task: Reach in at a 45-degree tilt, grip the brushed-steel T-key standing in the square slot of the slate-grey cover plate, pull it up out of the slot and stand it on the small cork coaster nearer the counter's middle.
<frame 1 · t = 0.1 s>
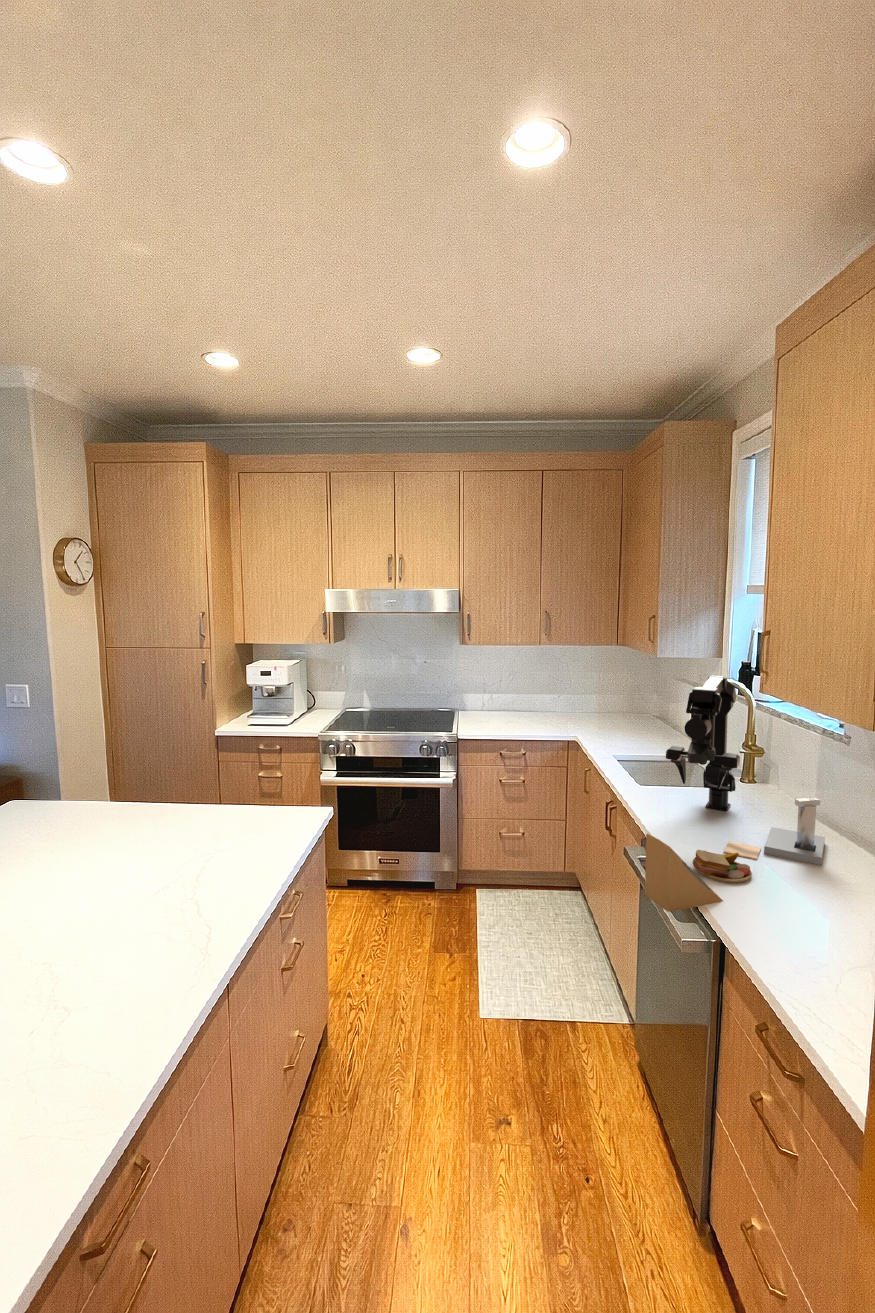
hand: (701, 786, 173), 15 cm above the countertop, tool pointing down, fingers open, 9 cm apart
cover plate: (794, 848, 166), on the countertop
sandwich container: (684, 899, 140), on the countertop
coaster: (742, 851, 164), on the countertop
toy sandwich meal: (721, 874, 152), on the countertop
t key: (804, 854, 162), resting in cover plate
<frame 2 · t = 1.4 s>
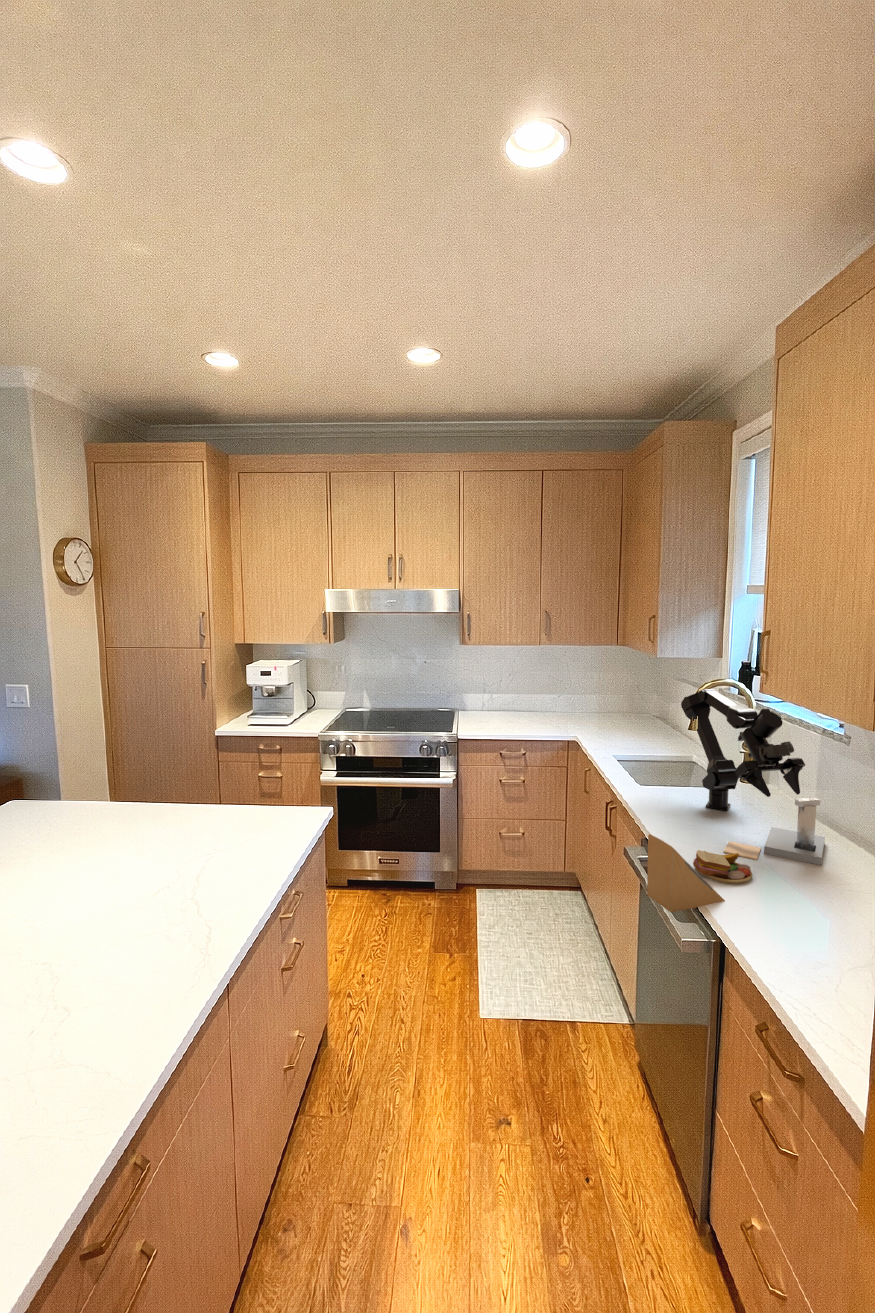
hand: (784, 795, 169), 13 cm above the countertop, tool tilted 45°, fingers open, 9 cm apart
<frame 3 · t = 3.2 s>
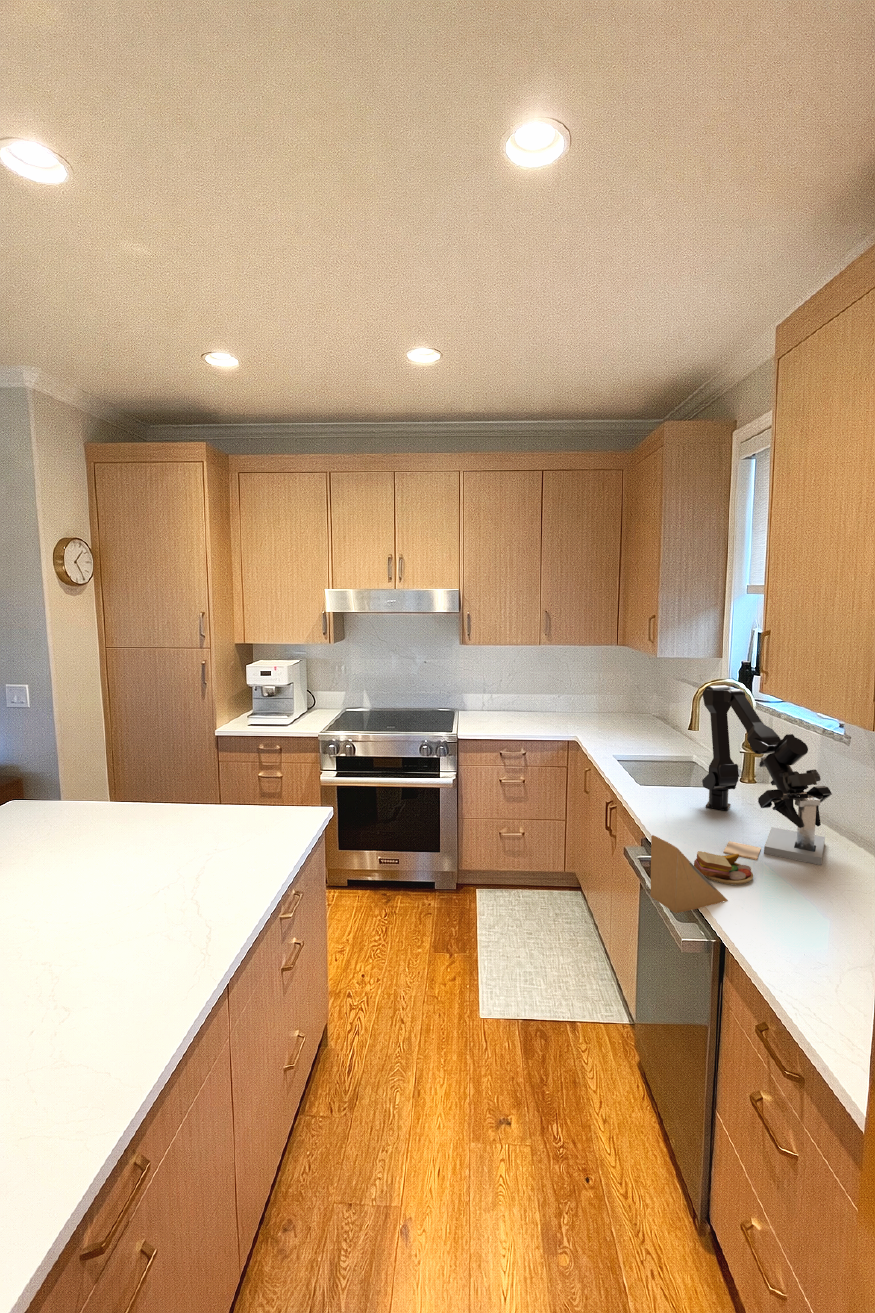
hand: (810, 826, 160), 8 cm above the countertop, tool tilted 45°, fingers closed on t key, 5 cm apart
t key: (804, 854, 162), resting in cover plate, touching gripper
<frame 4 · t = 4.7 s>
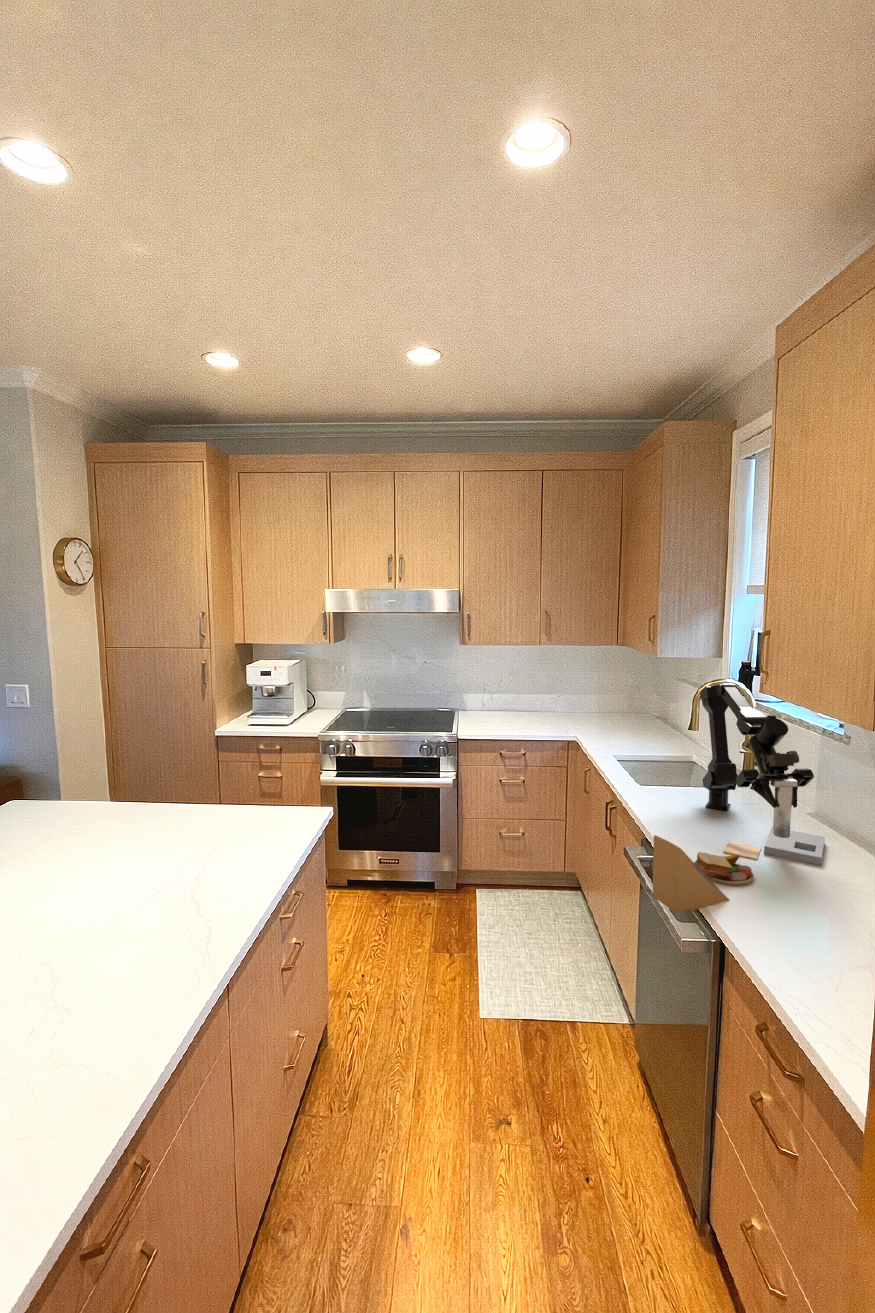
hand: (785, 807, 160), 13 cm above the countertop, tool tilted 45°, fingers closed on t key, 5 cm apart
t key: (781, 834, 162), point 5 cm above the countertop, touching gripper
when the fingers open (9 cm above the countertop, at t = 6.4 s): t key stays where it is, resting on coaster.
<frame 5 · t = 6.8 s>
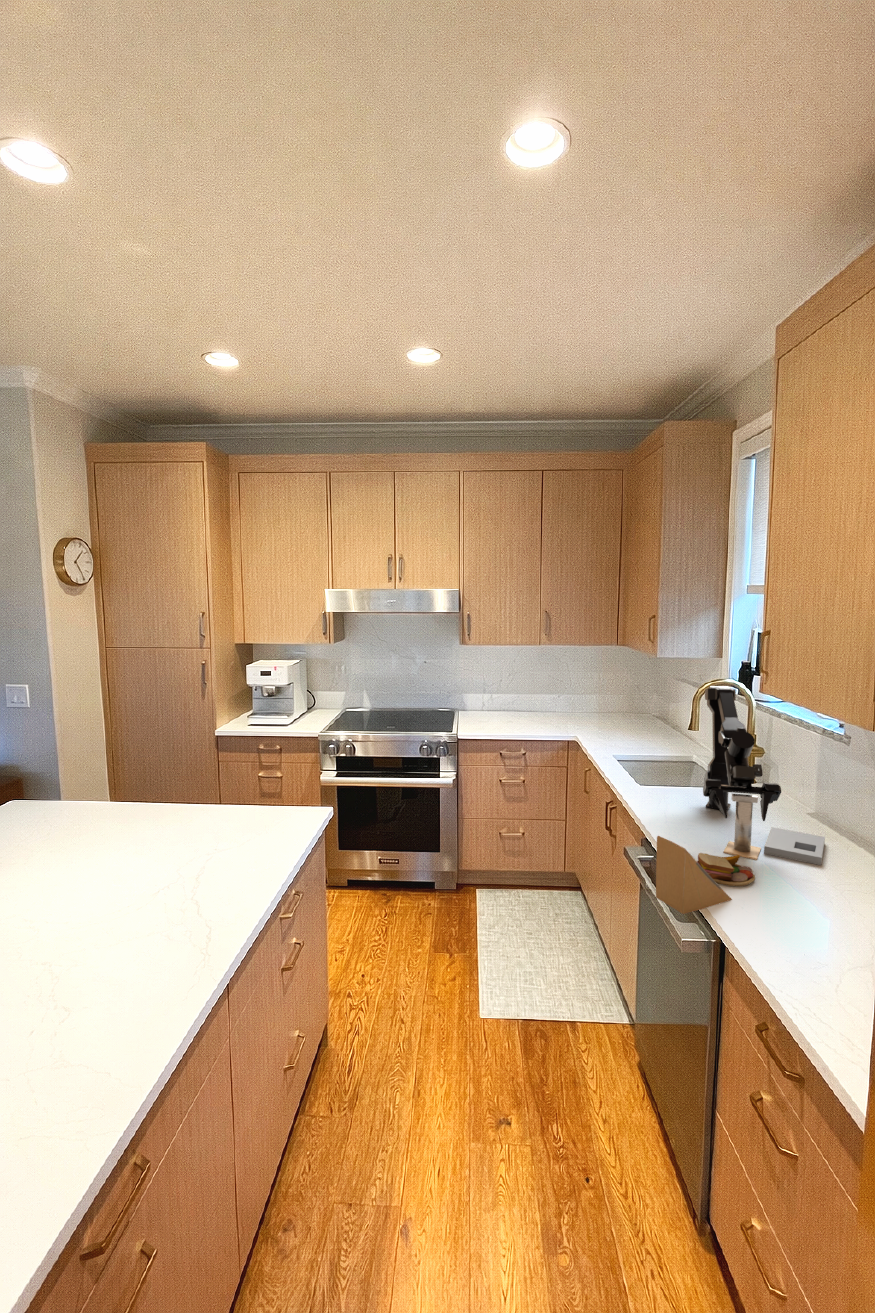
hand: (745, 819, 162), 9 cm above the countertop, tool tilted 45°, fingers open, 9 cm apart
t key: (742, 849, 165), resting on coaster
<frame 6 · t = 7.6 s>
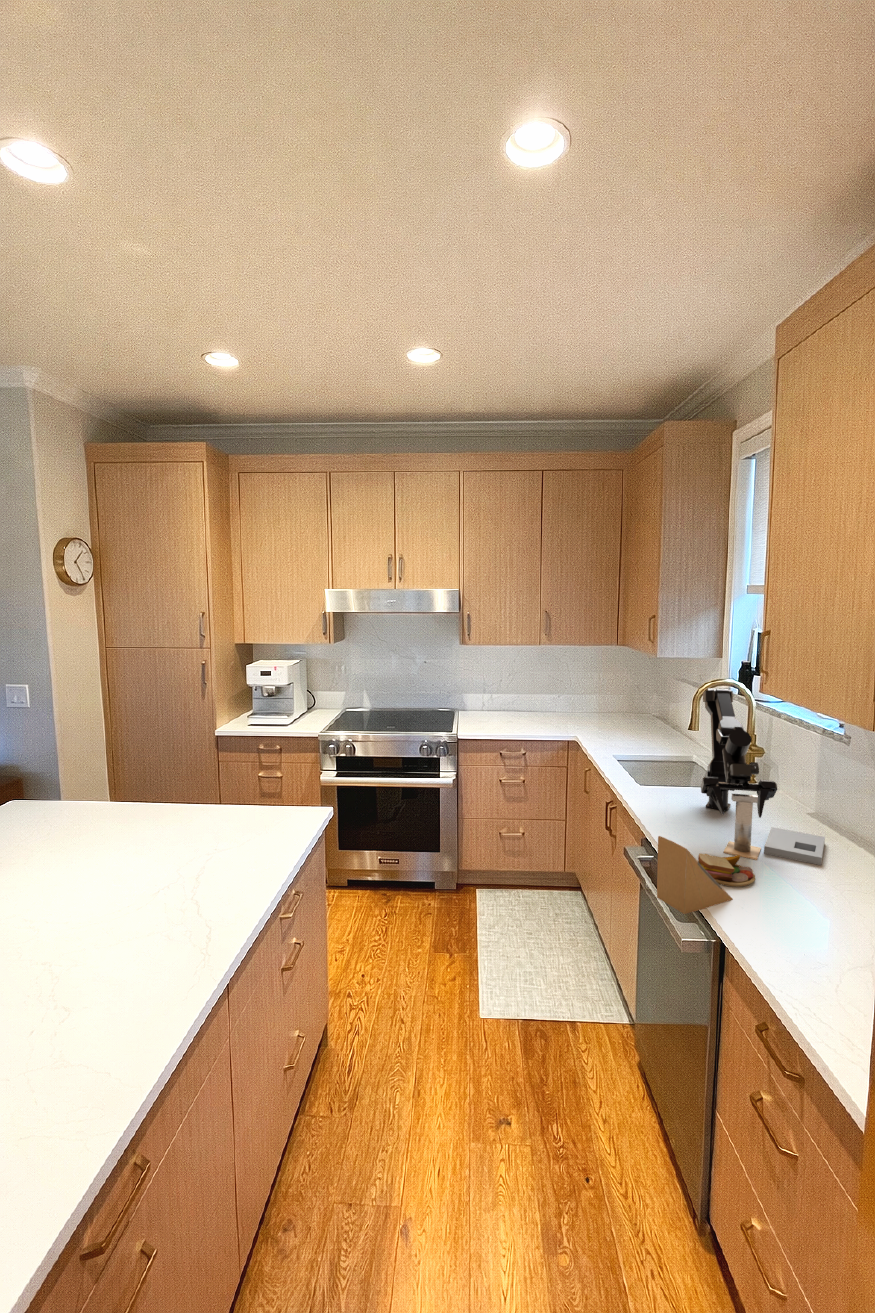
hand: (741, 815, 166), 9 cm above the countertop, tool tilted 45°, fingers open, 9 cm apart
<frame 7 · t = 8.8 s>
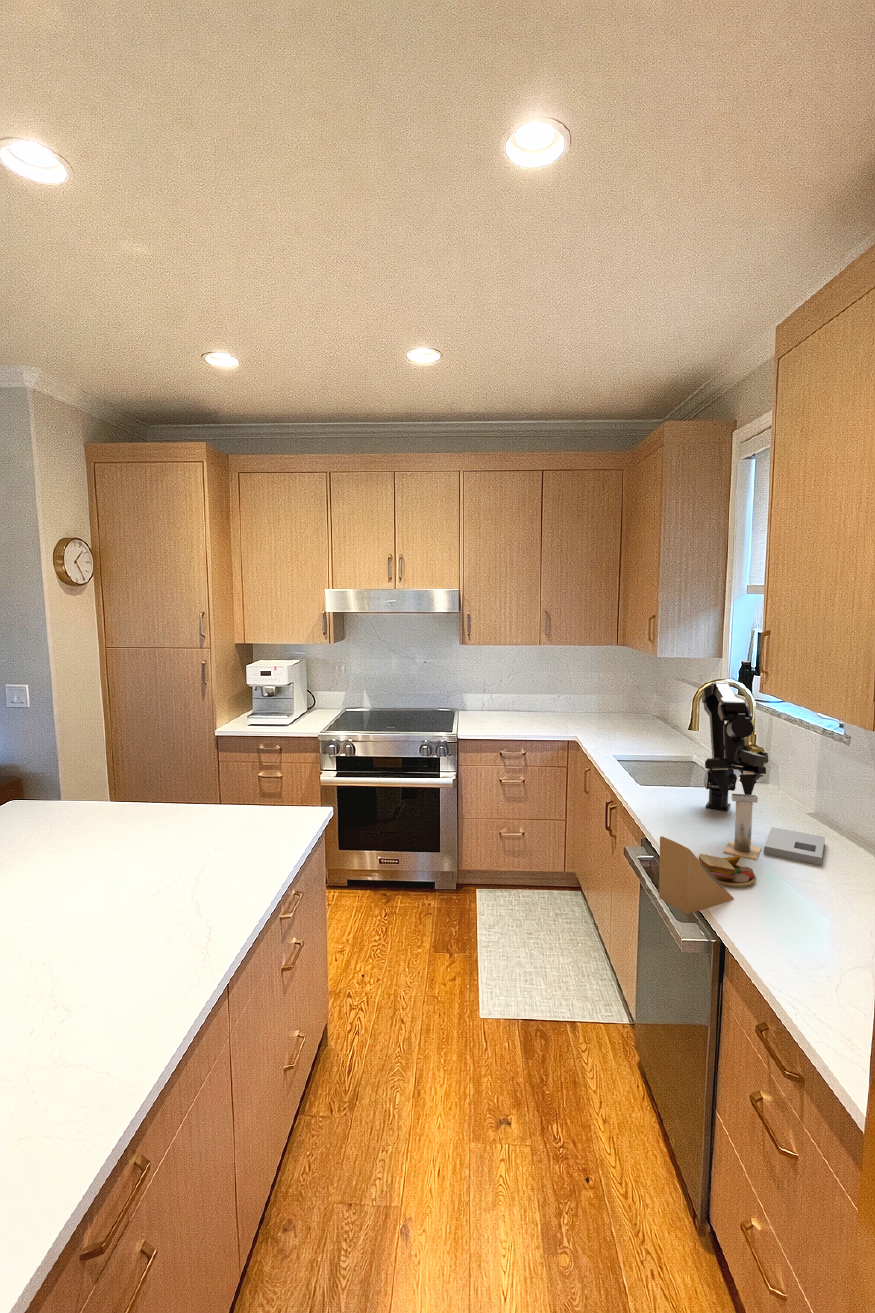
hand: (737, 797, 174), 11 cm above the countertop, tool tilted 20°, fingers open, 9 cm apart
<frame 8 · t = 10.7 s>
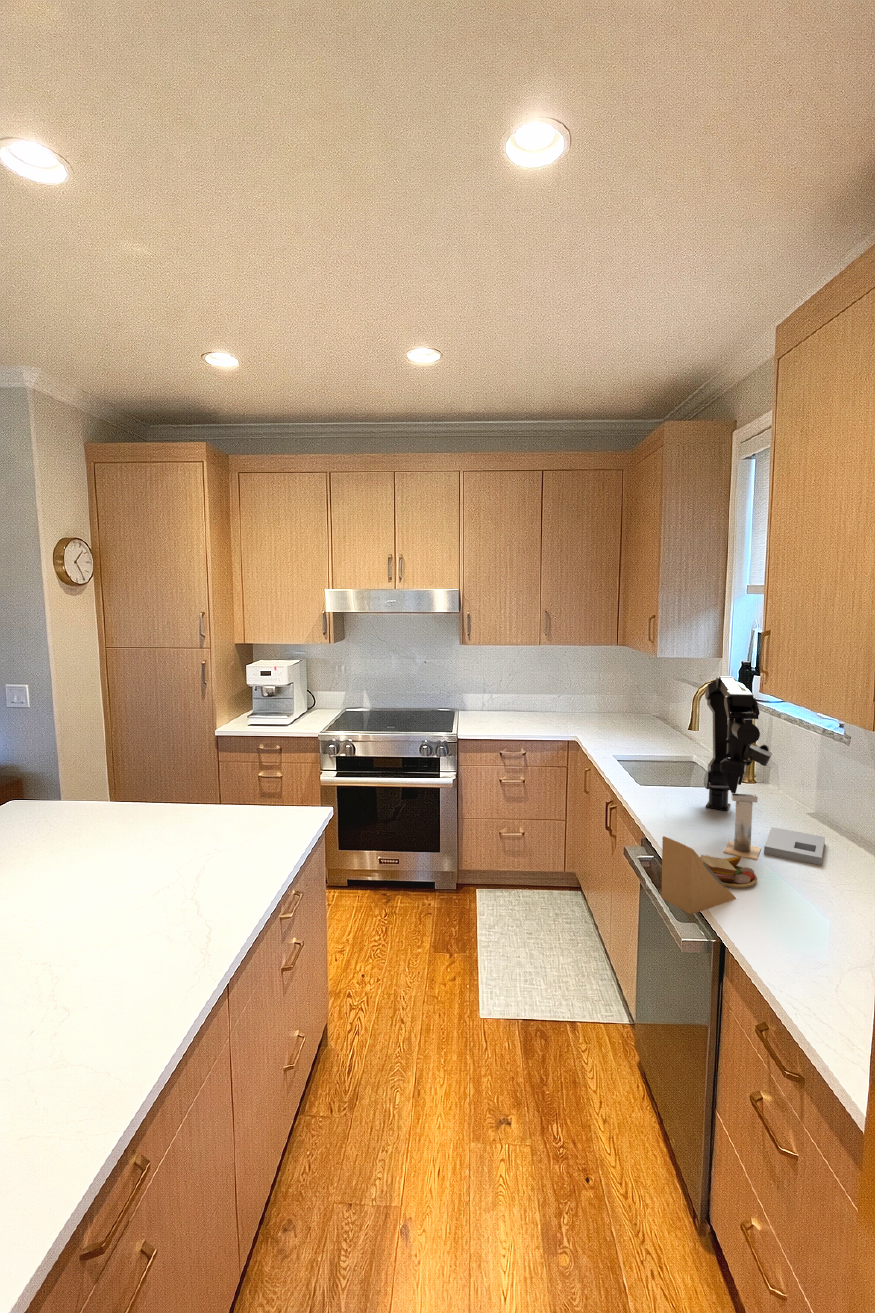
hand: (736, 788, 176), 13 cm above the countertop, tool pointing down, fingers open, 9 cm apart
at the end: t key inside the target area on the coaster (0.1 cm from its centre), point 0.4 cm above the coaster's base; t key tilted 1°; t key touching coaster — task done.
